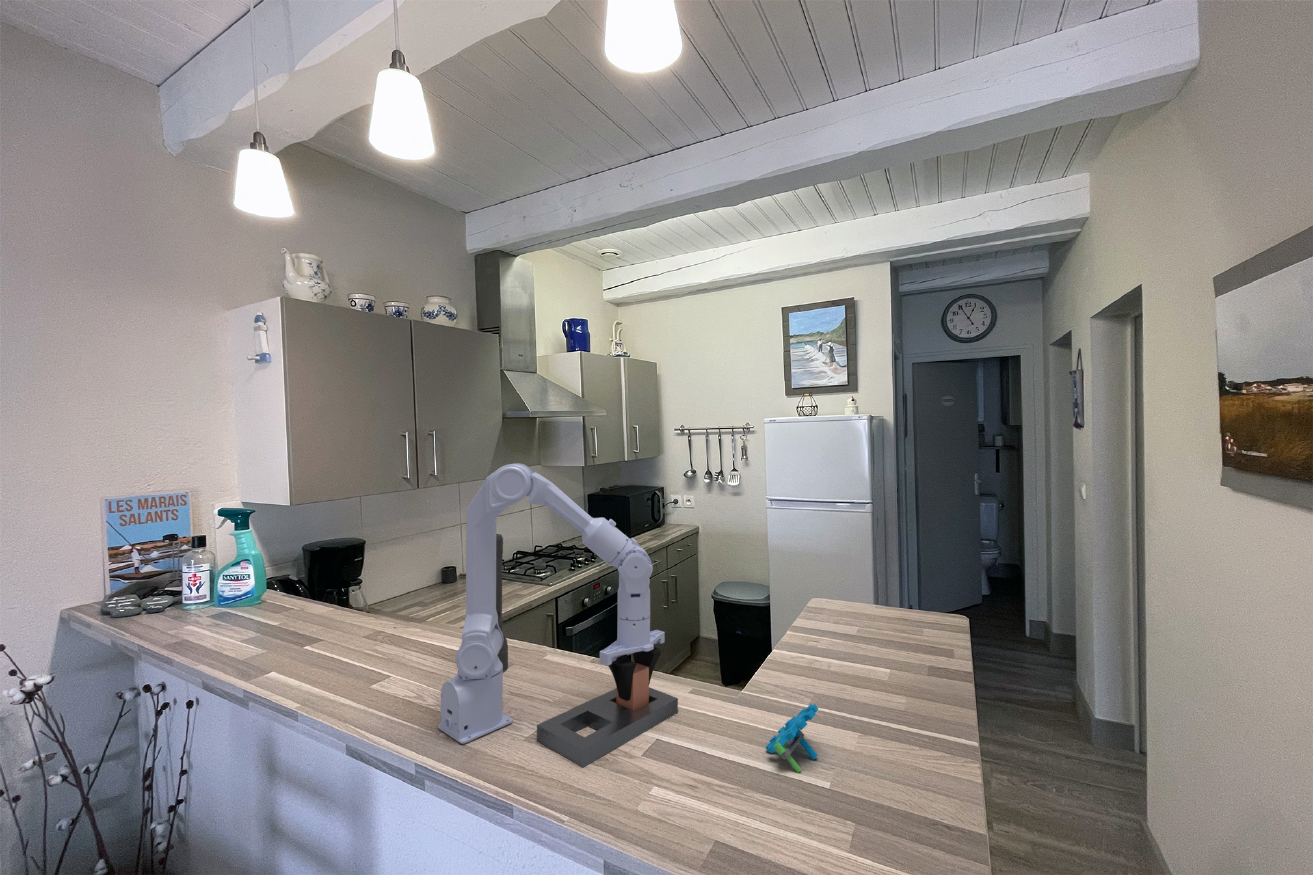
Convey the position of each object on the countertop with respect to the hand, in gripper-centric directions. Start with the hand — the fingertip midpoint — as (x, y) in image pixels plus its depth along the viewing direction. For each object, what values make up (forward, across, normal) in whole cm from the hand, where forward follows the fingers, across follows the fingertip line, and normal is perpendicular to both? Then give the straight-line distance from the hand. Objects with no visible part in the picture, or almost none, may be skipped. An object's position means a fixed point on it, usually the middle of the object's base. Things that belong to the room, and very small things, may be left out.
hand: (633, 694), depth 96 cm
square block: (+2, 0, 0) cm, 3 cm away
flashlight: (+4, -6, +36) cm, 37 cm away
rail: (+3, -6, 0) cm, 6 cm away
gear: (+4, +6, -27) cm, 28 cm away
